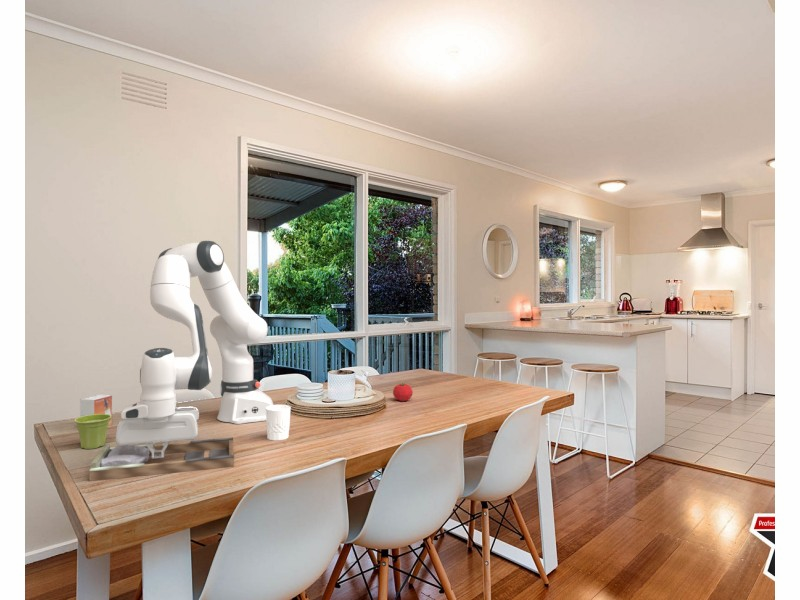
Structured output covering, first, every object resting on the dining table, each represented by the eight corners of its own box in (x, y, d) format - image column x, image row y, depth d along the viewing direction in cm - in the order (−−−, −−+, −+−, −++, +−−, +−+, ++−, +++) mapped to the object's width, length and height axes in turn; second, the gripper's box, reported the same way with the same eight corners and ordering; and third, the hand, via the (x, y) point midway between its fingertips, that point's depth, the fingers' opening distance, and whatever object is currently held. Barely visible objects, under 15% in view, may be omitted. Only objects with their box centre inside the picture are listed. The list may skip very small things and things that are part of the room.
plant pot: (71, 453, 139) (71, 423, 139) (78, 443, 148) (78, 415, 148) (108, 449, 143) (108, 420, 143) (113, 440, 152) (113, 412, 151)
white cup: (294, 435, 160) (295, 405, 160) (281, 442, 152) (282, 411, 152) (274, 433, 162) (274, 403, 162) (260, 439, 155) (260, 408, 155)
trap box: (232, 446, 148) (233, 433, 148) (233, 466, 131) (233, 452, 131) (106, 457, 136) (106, 443, 136) (89, 481, 120) (89, 465, 119)
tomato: (391, 398, 218) (392, 380, 217) (411, 398, 219) (411, 380, 218) (393, 403, 209) (394, 384, 209) (413, 402, 210) (414, 384, 210)
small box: (93, 431, 160) (93, 400, 160) (79, 430, 161) (79, 398, 161) (112, 424, 168) (112, 395, 168) (98, 423, 169) (99, 394, 169)
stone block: (150, 462, 138) (112, 458, 136) (154, 446, 138) (116, 441, 136) (137, 480, 126) (96, 475, 124) (141, 462, 126) (100, 457, 124)
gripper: (199, 402, 139) (199, 450, 139) (119, 407, 132) (119, 457, 132) (198, 408, 133) (197, 457, 133) (114, 413, 126) (114, 465, 127)
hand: (158, 457), depth 133 cm, fingers closed
